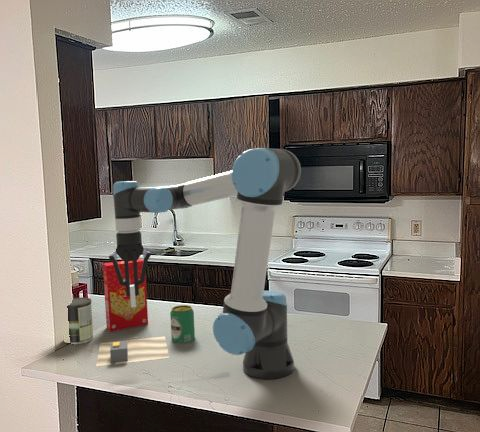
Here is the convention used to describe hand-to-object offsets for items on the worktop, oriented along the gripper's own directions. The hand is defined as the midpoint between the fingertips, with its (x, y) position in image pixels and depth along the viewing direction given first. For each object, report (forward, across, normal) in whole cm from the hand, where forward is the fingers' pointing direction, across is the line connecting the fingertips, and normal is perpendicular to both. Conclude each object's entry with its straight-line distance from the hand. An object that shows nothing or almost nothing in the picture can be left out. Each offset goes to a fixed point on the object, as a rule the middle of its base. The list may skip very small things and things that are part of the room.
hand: (133, 305), depth 151 cm
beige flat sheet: (+17, +1, -5) cm, 18 cm away
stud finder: (+16, +5, 0) cm, 17 cm away
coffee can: (+17, +20, -26) cm, 37 cm away
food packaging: (+17, +3, -35) cm, 40 cm away
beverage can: (+18, -16, -11) cm, 26 cm away
